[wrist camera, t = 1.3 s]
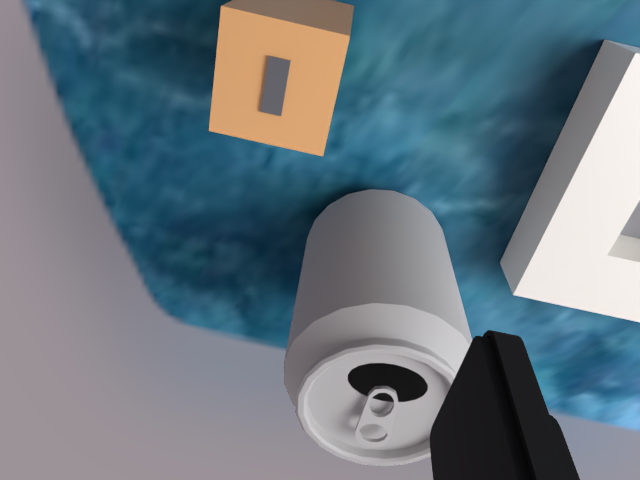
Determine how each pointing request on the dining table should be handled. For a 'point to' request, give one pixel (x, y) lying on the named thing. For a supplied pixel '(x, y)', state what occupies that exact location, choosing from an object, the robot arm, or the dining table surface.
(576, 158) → the outlet plate
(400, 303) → the can
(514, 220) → the dining table surface
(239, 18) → the charger
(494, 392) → the robot arm
